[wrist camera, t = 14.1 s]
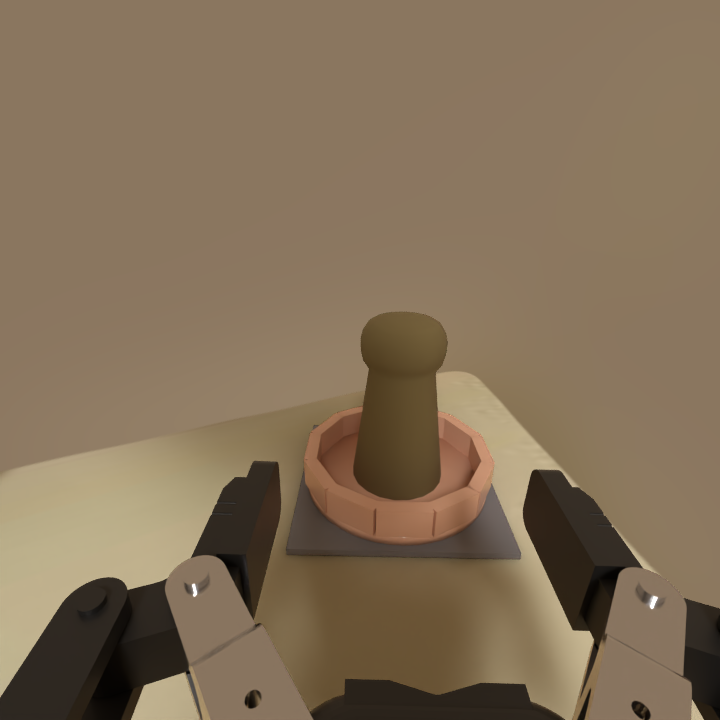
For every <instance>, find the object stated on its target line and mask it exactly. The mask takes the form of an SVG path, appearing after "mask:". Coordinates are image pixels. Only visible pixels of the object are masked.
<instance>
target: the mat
mask: <svg viewBox="0 0 720 720" xmlns="http://www.w3.org/2000/svg"><path fill="white" fill-rule="evenodd" d="M318 426H319V425H314V427H313V430H314V429H315V428H317V427H318ZM286 554H292V555H342V556H391V557H441V558H491V559H520V558H521V552H520V549H519V547H518V544H517V542H516V540H515V537H514V535H513V533H512V530H511V528H510V526H509V523H508V521H507V519H506V516H505V514H504V511H503V509H502V507H501V504H500V502H499V500H498V497H497V495H496V493H495V490H494V488H493V485H492V483H491V487H490V490H489V492H488V494H487V496H486V501H485V504H484V507H483V510H482V511H481V513H480V515H479V516H478V517H477V519H476V520H475V521H474V522H473V523H472V524H471V525H470V526H468V527H467V528H466V529H465V530H463V531H461V532H459V533H458V534H456V535H454V536H452V537H449V538H447V539H444V540H441V541H437V542H433V543H429V544H422V545H406V546H401V545H388V544H382V543H377V542H373V541H369V540H366V539H362V538H359V537H357V536H354V535H352V534H350V533H348V532H346V531H344V530H342V529H340V528H339V527H337V526H336V525H334V524H333V523H332V522H330V521H329V520H328V519H327V518H326V517H325V516H324V515H323V514H322V513H321V512H320V511H319V510H318V508H317V507H316V506H315V504H314V502H313V500H312V498H311V496H310V492H309V489H308V487H307V485H306V484H305V468H304V471H303V476H302V480H301V485H300V489H299V494H298V498H297V503H296V507H295V512H294V516H293V521H292V525H291V530H290V534H289V539H288V543H287V547H286Z"/></svg>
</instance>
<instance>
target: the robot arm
mask: <svg viewBox="0 0 720 720" xmlns="http://www.w3.org/2000/svg"><path fill="white" fill-rule="evenodd" d="M280 511H281V493H280V477H279V465H278V462H270V461H254V462H253V463H252V465H251V468H250V470H249V473H248V475H247V477H235V478H234V479H233V480H232V481H231V482H230V483H229V484H227V485H226V486H225V487H224V488H223V490H222V492H221V494H220V497H219V499H218V501H217V504H216V505H215V507H214V509H213V512H212V515H211V516H210V518H209V520H208V522H207V525H206V527H205V529H204V531H203V533H202V535H201V537H200V540H199V542H198V544H197V546H196V548H195V550H194V553H193V555H192V557H191V558H190V559H188V560H186V561H184V562H183V563H181V564H180V565H178V566H177V567H176V568H175V569H174V570H173V571H172V572H171V574H170V575H169V577H168V578H167V579H165V580H163V581H160V582H157V583H154V584H150V585H146V586H142V587H138V588H134V589H130V590H127V587H126V585H125V583H124V582H123V581H121V580H119V579H117V578H110V577H107V578H100V579H96V580H93V581H91V582H89V583H86V584H84V585H83V586H81V587H79V588H78V589H76V590H75V591H74V592H73V593H71V594H70V595H69V596H68V597H67V598H66V599H65V600H64V602H63V603H62V604H61V606H60V607H59V609H58V610H57V612H56V613H55V615H54V616H53V618H52V619H51V621H50V622H49V624H48V626H47V627H46V629H45V630H44V632H43V633H42V635H41V636H40V638H39V639H38V641H37V642H36V644H35V645H34V647H33V648H32V650H31V651H30V653H29V655H28V656H27V658H26V659H25V661H24V662H23V664H22V665H21V667H20V668H19V670H18V671H17V673H16V674H15V676H14V677H13V679H12V681H11V682H10V684H9V685H8V687H7V688H6V690H5V691H4V693H3V694H2V696H1V697H0V720H131V718H132V715H133V713H134V710H135V707H136V705H137V702H138V700H139V697H140V694H141V692H142V689H143V687H144V685H146V684H149V683H152V682H156V681H159V680H162V679H165V678H168V677H171V676H174V675H177V674H180V673H185V676H186V679H187V682H188V685H189V688H190V691H191V695H192V698H193V701H194V704H195V707H196V710H197V713H198V716H199V720H565V719H563V718H562V717H561V716H559V715H558V714H556V713H554V712H552V711H551V710H549V709H547V708H545V707H543V706H541V705H538V704H536V703H533V702H531V701H530V698H529V695H528V692H527V688H526V685H525V684H499V683H479V684H476V685H472V686H469V687H465V688H462V689H458V690H455V691H451V692H448V693H445V694H441V695H434V694H430V693H427V692H424V691H421V690H418V689H415V688H412V687H409V686H406V685H402V684H399V683H396V682H393V681H390V680H360V679H345V695H342V696H338V697H335V698H333V699H331V700H328V701H326V702H324V703H322V704H321V705H319V706H318V707H316V708H315V709H313V710H312V711H311V712H310V713H309V711H308V709H307V707H306V705H305V703H304V701H303V699H302V697H301V696H300V694H299V692H298V690H297V688H296V686H295V684H294V682H293V680H292V679H291V677H290V675H289V673H288V671H287V669H286V667H285V665H284V663H283V661H282V660H281V658H280V656H279V654H278V652H277V650H276V648H275V646H274V644H273V643H272V641H271V639H270V637H269V635H268V633H267V631H266V630H265V628H264V627H263V625H262V624H260V623H259V624H257V625H256V624H255V622H254V621H253V620H254V616H255V613H256V609H257V605H258V601H259V597H260V593H261V589H262V585H263V581H264V577H265V573H266V570H267V566H268V562H269V558H270V554H271V550H272V546H273V542H274V538H275V534H276V530H277V527H278V523H279V518H280ZM523 519H524V524H525V528H526V530H527V532H528V534H529V536H530V539H531V541H532V543H533V545H534V547H535V549H536V552H537V554H538V556H539V558H540V560H541V562H542V565H543V567H544V569H545V571H546V573H547V575H548V578H549V580H550V582H551V584H552V586H553V588H554V591H555V593H556V595H557V597H558V599H559V601H560V604H561V606H562V608H563V610H564V612H565V614H566V617H567V619H568V621H569V623H570V625H571V627H572V630H579V631H590V632H591V634H592V636H593V638H594V641H593V644H592V646H591V650H590V654H589V658H588V661H587V665H586V669H585V673H584V677H583V681H582V685H581V689H580V692H579V696H578V700H577V704H576V708H575V711H574V715H573V718H572V720H691V705H692V700H693V701H694V703H695V705H696V707H697V708H698V710H699V712H700V713H701V715H702V717H703V719H704V720H720V609H719V608H716V607H712V606H709V605H705V604H702V603H698V602H695V601H691V600H688V599H685V598H683V596H682V595H681V593H680V592H679V591H678V590H677V589H676V588H675V587H674V586H673V585H672V584H671V583H670V582H669V581H667V580H666V579H664V578H663V577H661V576H660V575H658V574H656V573H654V572H651V571H649V570H646V569H643V568H642V566H641V565H640V563H639V562H638V561H637V559H636V558H635V556H634V555H633V554H632V552H631V551H630V549H629V548H628V547H627V545H626V544H625V543H624V541H623V540H622V538H621V537H620V536H619V534H618V533H617V531H616V530H615V529H614V527H612V524H611V523H610V522H609V520H608V519H607V517H606V516H604V515H603V512H602V510H601V509H600V508H599V506H598V505H597V504H596V502H595V501H594V499H592V498H591V497H590V496H589V495H587V494H586V493H585V492H583V491H582V490H581V489H580V488H578V487H572V486H571V485H570V484H569V482H568V481H567V479H566V478H565V476H564V475H563V473H562V472H561V471H559V470H533V471H532V473H531V477H530V481H529V485H528V489H527V494H526V498H525V502H524V507H523Z"/></svg>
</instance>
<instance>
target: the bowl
mask: <svg viewBox="0 0 720 720" xmlns="http://www.w3.org/2000/svg"><path fill="white" fill-rule="evenodd" d="M362 409H363V406H360V407H356V408H352V409H348V410H345V411H341V412H337V414H336V413H335V414H334V415H332V416H331V417H330V418H328V419H327V420H326V421H324V422H323V423H322V424H321V425H319V426H318V427H317V428H315V429H314V430H313V431H311V433H310V436H309V440H308V444H307V449H306V453H305V457H304V468H305V484H306V485H307V487H308V489H309V492H310V496H311V498H312V500H313V502H314V504H315V506H316V507H317V508H318V510H319V511H320V512H321V513H322V514H323V515H324V516H325V517H326V518H327V519H328V520H329V521H330V522H332V523H333V524H334V525H336V526H337V527H339V528H340V529H342V530H344V531H346V532H348V533H350V534H352V535H354V536H357V537H359V538H362V539H366V540H369V541H373V542H377V543H382V544H388V545H401V546H406V545H422V544H429V543H433V542H437V541H441V540H444V539H447V538H449V537H452V536H454V535H456V534H458V533H459V532H461V531H463V530H465V529H466V528H467V527H468V526H470V525H471V524H472V523H473V522H474V521H475V520H476V519H477V517H478V516H479V515H480V513H481V511H482V510H483V507H484V504H485V501H486V496H487V494H488V492H489V490H490V487H491V482H492V476H493V470H494V461H493V459H492V456H491V454H490V452H489V450H488V448H487V446H486V443H485V441H484V439H483V437H482V436H481V434H479V433H478V432H476V431H475V430H473V429H472V428H470V427H469V426H467V425H466V424H464V423H463V422H461V421H460V420H458V419H457V418H455V417H454V416H452V415H451V416H450V414H447V413H443V412H440V411H438V427H439V445H440V464H441V477H440V483H439V484H438V485H437V487H436V488H435V489H434V490H433V491H432V492H430V493H428V494H427V495H425V496H423V497H420V498H416V499H412V500H391V499H386V498H381V497H378V496H376V495H374V494H372V493H370V492H367V491H366V490H365V489H364V488H363V487H361V486H360V485H359V484H358V482H357V481H356V479H355V477H354V475H353V465H354V458H355V452H356V446H357V440H358V434H359V428H360V421H361V415H362Z"/></svg>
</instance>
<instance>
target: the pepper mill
mask: <svg viewBox="0 0 720 720" xmlns="http://www.w3.org/2000/svg"><path fill="white" fill-rule="evenodd" d="M447 344H448V341H447V336H446V332H445V330H444V328H443V327H442V325H441V323H440V322H438V321H437V320H435V319H434V318H432V317H430V316H427V315H424V314H419V313H413V312H389V313H384V314H380V315H378V316H376V317H373V318H372V319H370V320H369V321H368V323H367V324H366V326H365V327H364V329H363V332H362V335H361V352H362V357H363V361H364V362H365V364H366V365H367V366H368V368H369V372H368V378H367V385H366V391H365V397H364V403H363V409H362V415H361V421H360V428H359V434H358V440H357V446H356V452H355V458H354V465H353V475H354V477H355V479H356V481H357V482H358V484H359V485H360V486H361V487H363V488H364V489H365V490H366V491H367V492H370V493H372V494H374V495H376V496H378V497H381V498H386V499H391V500H412V499H416V498H420V497H423V496H425V495H427V494H428V493H430V492H432V491H433V490H434V489H435V488H436V487H437V485H438V484H439V483H440V477H441V464H440V445H439V427H438V408H437V390H436V371H437V370H438V369H439V368H440V367H441V366H442V364H443V361H444V359H445V356H446V351H447Z"/></svg>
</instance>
